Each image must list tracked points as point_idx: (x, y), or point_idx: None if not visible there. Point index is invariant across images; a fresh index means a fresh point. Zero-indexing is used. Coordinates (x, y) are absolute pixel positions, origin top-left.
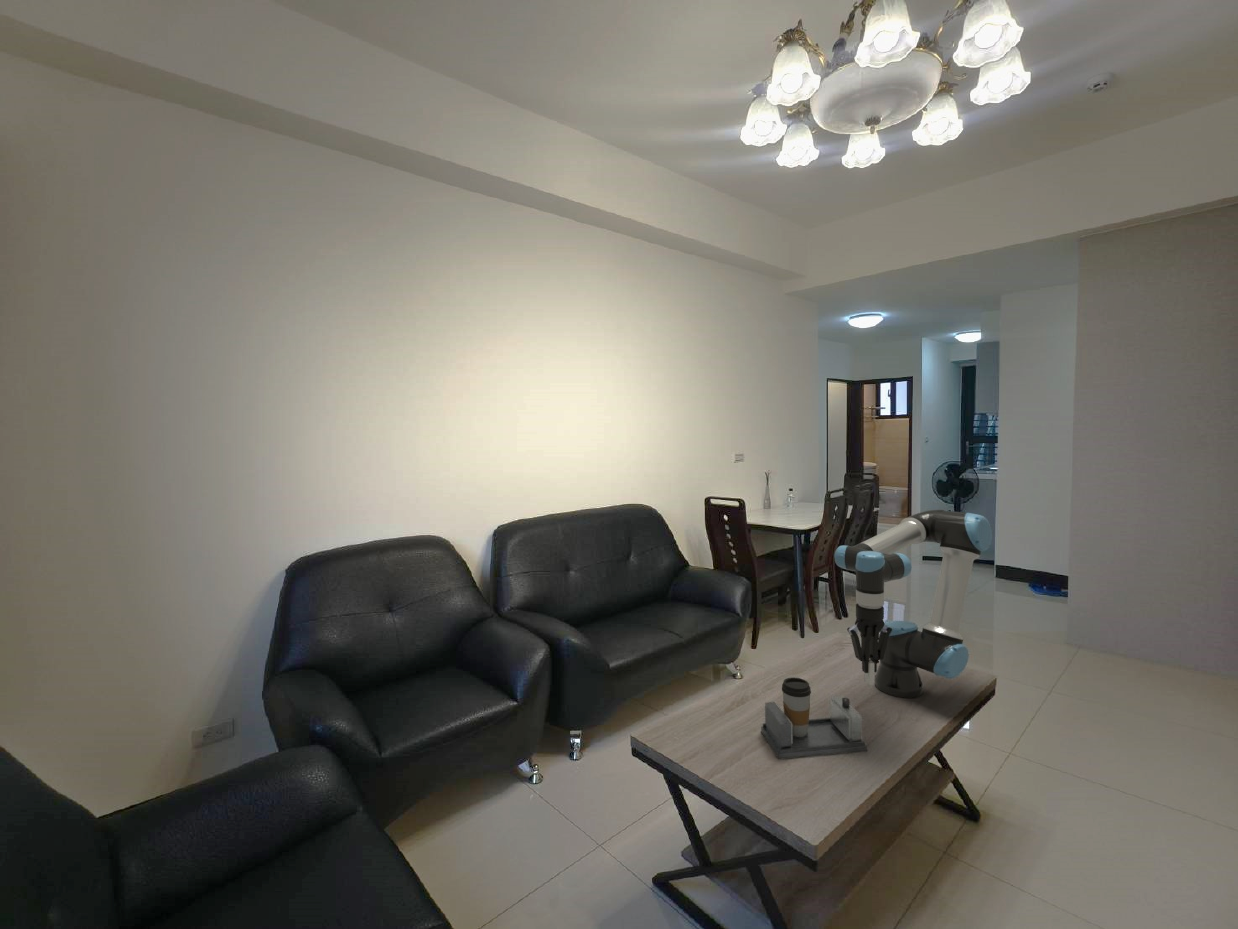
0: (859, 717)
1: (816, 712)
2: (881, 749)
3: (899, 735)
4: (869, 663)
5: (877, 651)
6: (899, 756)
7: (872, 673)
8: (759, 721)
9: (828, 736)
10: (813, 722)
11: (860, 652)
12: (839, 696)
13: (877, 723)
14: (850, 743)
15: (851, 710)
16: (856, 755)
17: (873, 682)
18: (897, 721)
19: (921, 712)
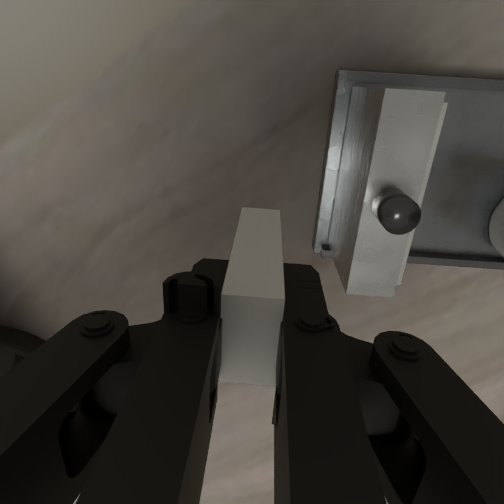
0: (396, 89)
1: (347, 321)
2: (275, 67)
3: (155, 140)
4: (283, 301)
5: (124, 415)
6: (237, 4)
7: (251, 243)
8: None
9: (438, 164)
10: (430, 254)
11: (482, 446)
12: (356, 288)
13: (189, 224)
14: (414, 76)
15: (395, 157)
16: (395, 50)
17: (247, 213)
18: (114, 220)
19: (6, 250)
